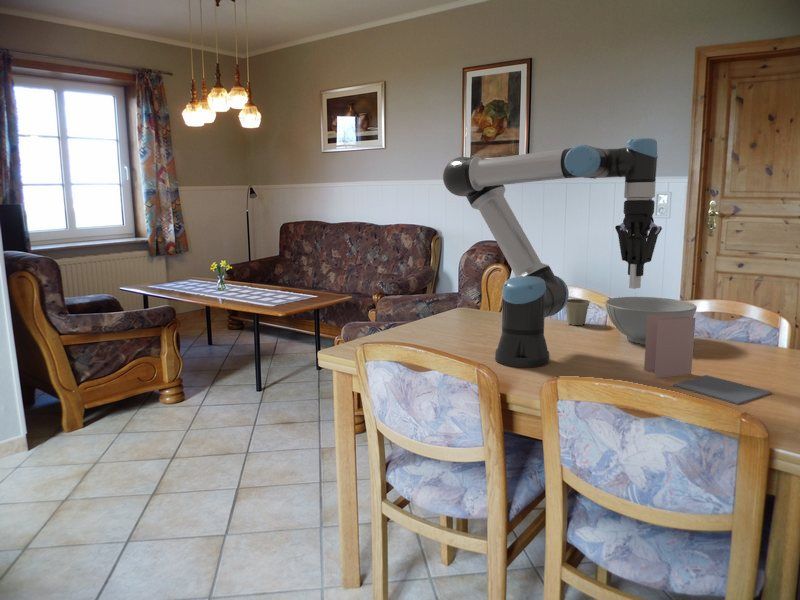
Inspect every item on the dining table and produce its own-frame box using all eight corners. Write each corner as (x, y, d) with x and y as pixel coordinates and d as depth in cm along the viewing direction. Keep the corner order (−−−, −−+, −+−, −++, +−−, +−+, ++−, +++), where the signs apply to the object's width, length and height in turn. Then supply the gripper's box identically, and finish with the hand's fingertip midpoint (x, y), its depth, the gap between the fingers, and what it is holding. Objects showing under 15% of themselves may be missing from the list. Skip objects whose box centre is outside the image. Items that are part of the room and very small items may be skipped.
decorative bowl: (587, 339, 192) (588, 303, 190) (630, 327, 209) (632, 293, 207) (668, 356, 172) (671, 315, 170) (708, 341, 189) (711, 303, 187)
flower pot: (557, 322, 219) (558, 299, 217) (579, 320, 222) (580, 298, 220) (572, 327, 210) (573, 303, 209) (594, 325, 213) (595, 302, 211)
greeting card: (690, 373, 155) (695, 316, 153) (694, 381, 148) (699, 322, 146) (643, 369, 159) (647, 314, 156) (645, 377, 152) (649, 320, 149)
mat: (737, 404, 131) (737, 402, 131) (672, 385, 145) (672, 384, 145) (771, 393, 138) (771, 391, 138) (706, 376, 152) (706, 375, 152)
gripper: (670, 198, 152) (665, 289, 156) (627, 199, 163) (623, 284, 167) (651, 199, 149) (646, 292, 152) (609, 199, 160) (605, 286, 163)
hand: (634, 287), depth 160 cm, fingers closed
